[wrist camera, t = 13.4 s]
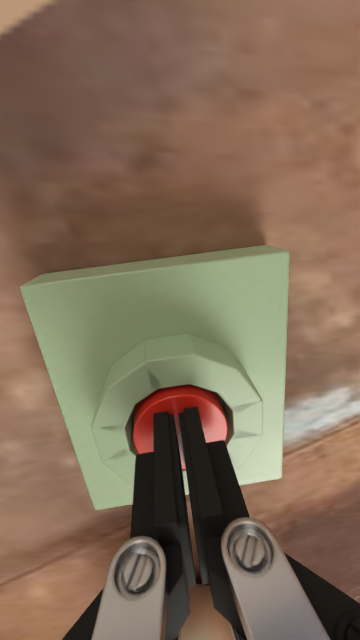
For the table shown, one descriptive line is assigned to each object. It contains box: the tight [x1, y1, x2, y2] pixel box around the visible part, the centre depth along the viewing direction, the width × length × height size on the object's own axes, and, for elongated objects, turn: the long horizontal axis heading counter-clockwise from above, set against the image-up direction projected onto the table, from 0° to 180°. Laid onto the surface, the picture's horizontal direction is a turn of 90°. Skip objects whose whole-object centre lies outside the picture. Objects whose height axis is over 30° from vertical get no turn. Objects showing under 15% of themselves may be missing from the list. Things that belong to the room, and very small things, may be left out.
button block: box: [20, 245, 289, 510], centre depth 12 cm, size 12×10×4 cm
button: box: [133, 384, 228, 469], centre depth 11 cm, size 4×4×2 cm
